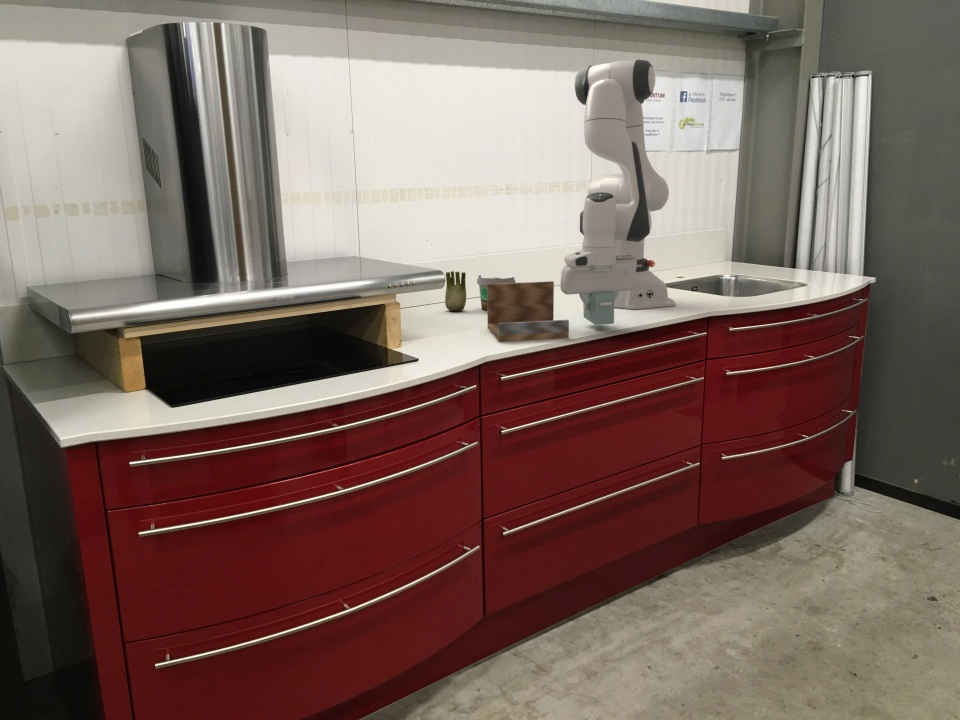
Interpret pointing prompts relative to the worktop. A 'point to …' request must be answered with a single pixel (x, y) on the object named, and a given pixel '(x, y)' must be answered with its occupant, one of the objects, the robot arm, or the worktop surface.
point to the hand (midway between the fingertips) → (598, 308)
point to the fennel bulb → (455, 291)
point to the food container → (483, 287)
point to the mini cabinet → (600, 308)
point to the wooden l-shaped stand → (523, 312)
